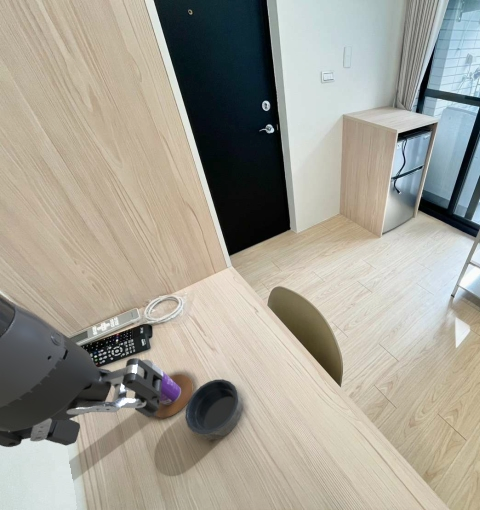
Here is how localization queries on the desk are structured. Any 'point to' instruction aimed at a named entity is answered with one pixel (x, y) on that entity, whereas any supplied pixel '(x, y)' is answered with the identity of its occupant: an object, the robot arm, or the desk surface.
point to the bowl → (214, 409)
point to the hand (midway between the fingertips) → (116, 421)
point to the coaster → (182, 401)
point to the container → (166, 386)
